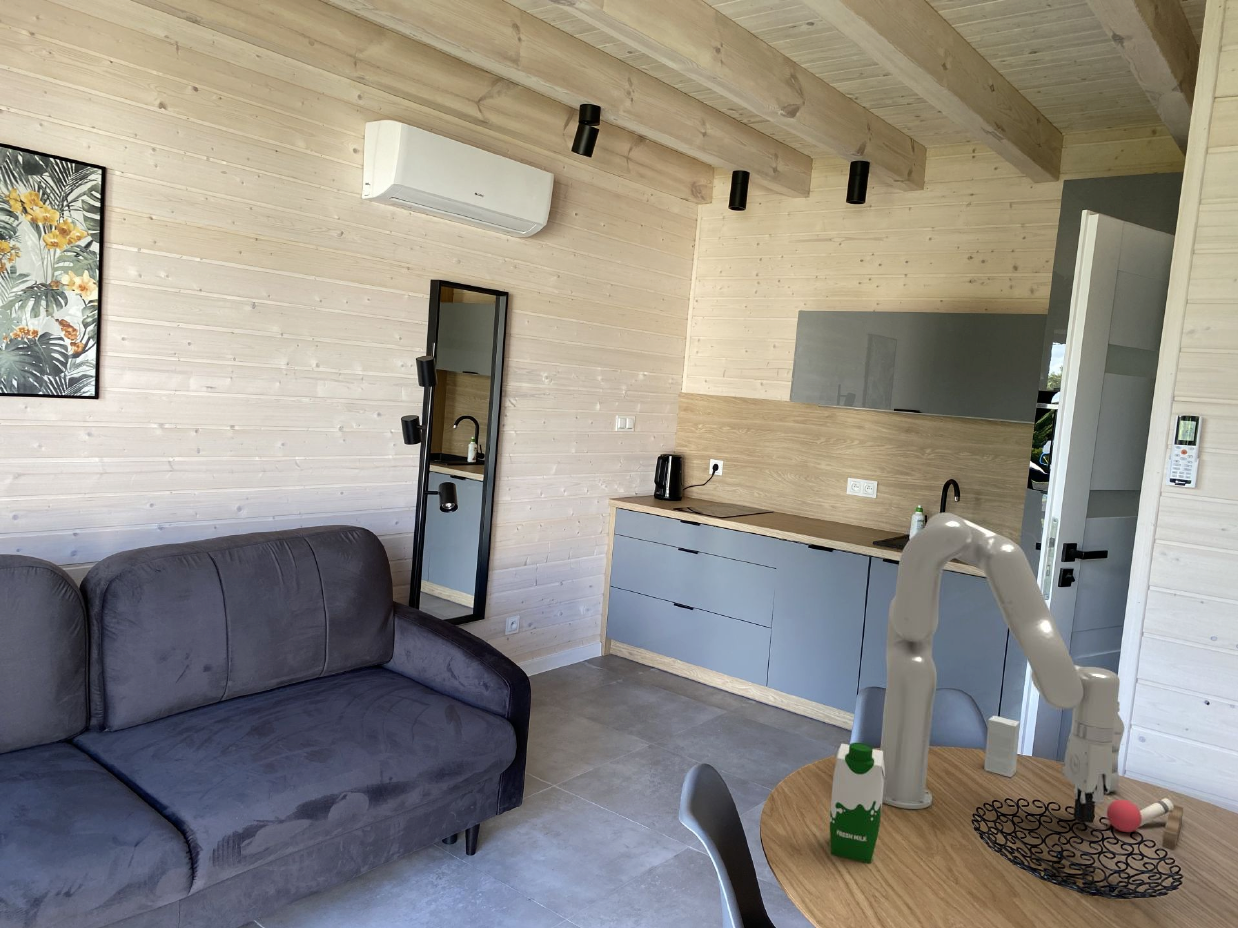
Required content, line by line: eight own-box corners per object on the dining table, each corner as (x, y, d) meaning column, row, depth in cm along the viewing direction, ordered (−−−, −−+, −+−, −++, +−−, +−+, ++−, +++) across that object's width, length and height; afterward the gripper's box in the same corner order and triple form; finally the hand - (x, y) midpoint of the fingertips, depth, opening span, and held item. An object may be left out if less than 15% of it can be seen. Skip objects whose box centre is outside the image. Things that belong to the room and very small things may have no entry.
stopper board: (1174, 849, 170) (1176, 834, 170) (1162, 845, 171) (1164, 830, 171) (1181, 821, 183) (1183, 807, 183) (1170, 818, 184) (1171, 804, 184)
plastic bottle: (1109, 784, 200) (1118, 697, 199) (1123, 797, 193) (1132, 707, 192) (1079, 781, 201) (1088, 694, 199) (1092, 793, 194) (1101, 704, 193)
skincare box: (1016, 772, 203) (1021, 721, 202) (1010, 778, 200) (1016, 726, 199) (988, 764, 207) (993, 714, 206) (983, 769, 204) (987, 718, 203)
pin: (1129, 812, 180) (1162, 795, 182) (1131, 823, 180) (1164, 806, 182) (1139, 818, 178) (1172, 801, 180) (1141, 828, 178) (1174, 811, 180)
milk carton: (825, 855, 158) (834, 746, 157) (830, 833, 167) (839, 730, 166) (876, 867, 156) (886, 755, 154) (878, 844, 164) (888, 738, 163)
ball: (1151, 812, 173) (1143, 840, 174) (1135, 797, 179) (1127, 824, 180) (1120, 805, 174) (1112, 834, 174) (1105, 791, 179) (1098, 818, 180)
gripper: (1055, 716, 184) (1047, 802, 185) (1092, 743, 169) (1083, 837, 170) (1092, 719, 183) (1083, 805, 185) (1132, 746, 169) (1122, 840, 170)
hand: (1083, 820), depth 177 cm, fingers closed
